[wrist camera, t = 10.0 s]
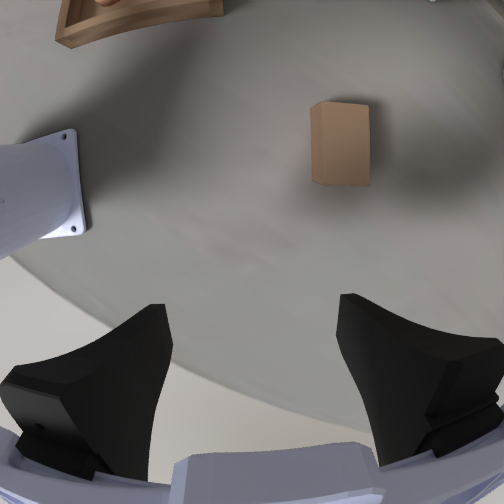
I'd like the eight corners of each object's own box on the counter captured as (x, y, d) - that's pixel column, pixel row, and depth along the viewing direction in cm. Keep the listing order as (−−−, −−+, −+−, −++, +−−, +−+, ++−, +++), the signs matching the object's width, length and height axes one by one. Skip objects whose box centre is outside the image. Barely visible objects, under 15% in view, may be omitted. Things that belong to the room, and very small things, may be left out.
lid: (241, 251, 21) (241, 269, 18) (232, 46, 16) (230, 26, 13) (402, 243, 22) (425, 258, 18) (401, 61, 17) (425, 49, 13)
